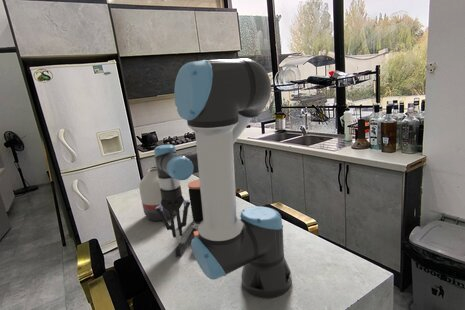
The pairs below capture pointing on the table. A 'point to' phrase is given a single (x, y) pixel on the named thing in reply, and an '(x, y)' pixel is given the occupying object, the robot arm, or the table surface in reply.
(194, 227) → the grey long bar
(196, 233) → the orange rectangular block
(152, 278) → the table surface
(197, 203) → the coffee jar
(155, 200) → the vase
